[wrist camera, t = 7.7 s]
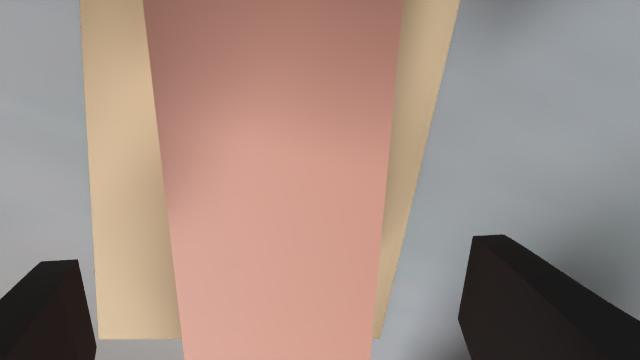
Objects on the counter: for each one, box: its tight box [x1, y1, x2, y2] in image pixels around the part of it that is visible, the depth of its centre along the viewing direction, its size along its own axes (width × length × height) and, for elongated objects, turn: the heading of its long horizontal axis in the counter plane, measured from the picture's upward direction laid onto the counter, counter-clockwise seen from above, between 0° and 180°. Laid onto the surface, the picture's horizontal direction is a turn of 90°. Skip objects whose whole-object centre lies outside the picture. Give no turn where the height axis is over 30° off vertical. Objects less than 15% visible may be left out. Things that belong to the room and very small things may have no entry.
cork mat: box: [79, 0, 460, 339], centre depth 16 cm, size 9×13×1 cm
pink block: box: [143, 0, 403, 360], centre depth 14 cm, size 4×11×5 cm, turn 178°
